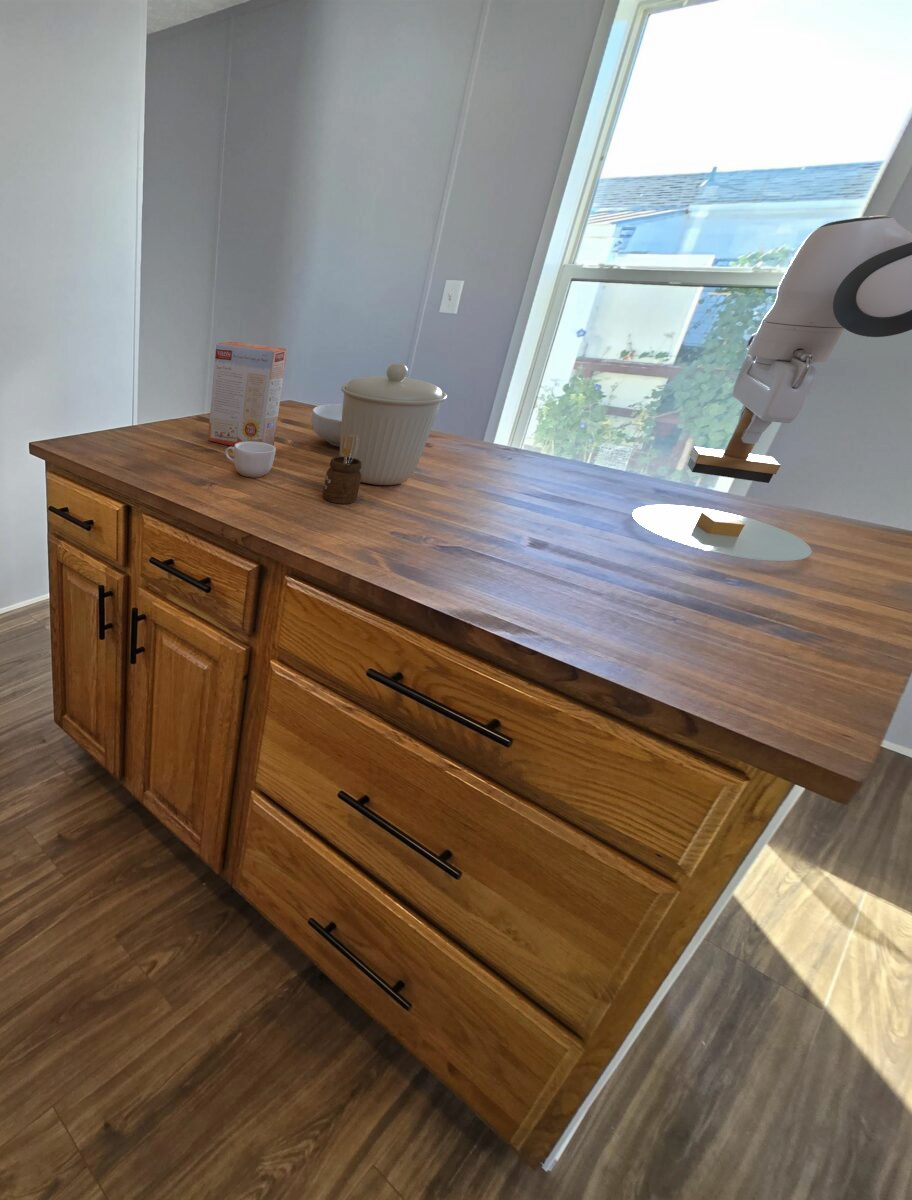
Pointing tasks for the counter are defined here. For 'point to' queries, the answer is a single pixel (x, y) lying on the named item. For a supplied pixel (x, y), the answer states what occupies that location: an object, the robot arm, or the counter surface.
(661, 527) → the disc
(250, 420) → the cracker box
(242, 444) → the teacup
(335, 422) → the cereal bowl
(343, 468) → the utensil holder
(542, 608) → the counter surface
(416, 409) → the canister
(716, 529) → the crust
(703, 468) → the brush
